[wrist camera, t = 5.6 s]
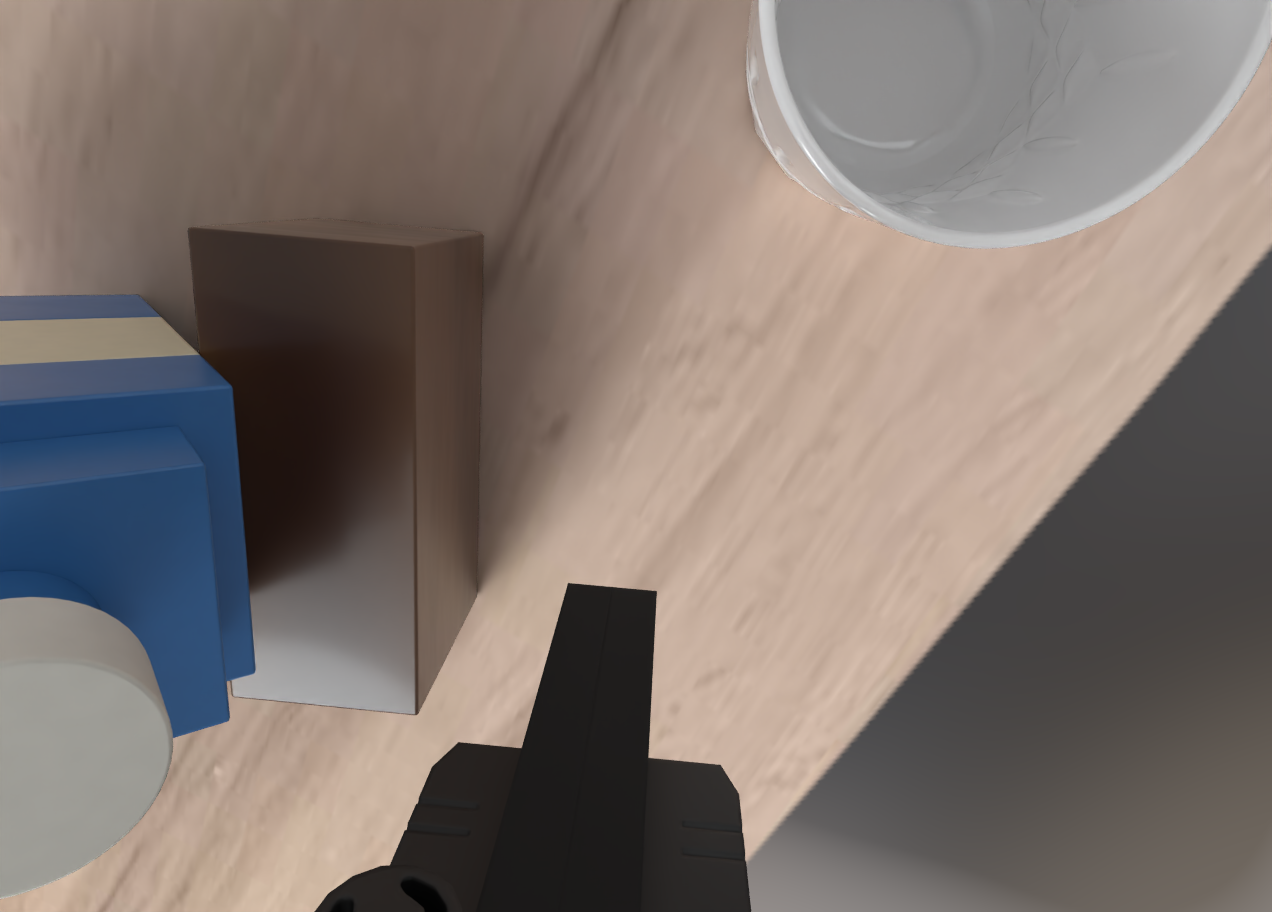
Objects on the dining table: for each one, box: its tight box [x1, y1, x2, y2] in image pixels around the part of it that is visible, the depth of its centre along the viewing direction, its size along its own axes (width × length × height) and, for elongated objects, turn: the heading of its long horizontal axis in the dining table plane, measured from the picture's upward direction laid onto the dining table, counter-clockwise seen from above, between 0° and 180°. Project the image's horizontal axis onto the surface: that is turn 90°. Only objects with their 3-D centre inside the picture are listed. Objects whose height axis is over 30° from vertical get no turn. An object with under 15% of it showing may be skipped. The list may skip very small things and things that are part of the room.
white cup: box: [746, 0, 1272, 249], centre depth 17 cm, size 8×8×10 cm
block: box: [188, 218, 484, 715], centre depth 22 cm, size 5×12×6 cm, turn 176°
